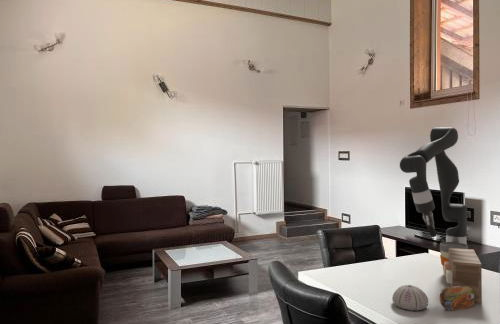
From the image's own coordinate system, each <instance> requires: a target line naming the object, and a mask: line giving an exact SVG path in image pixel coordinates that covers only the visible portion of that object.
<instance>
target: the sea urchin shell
mask: <svg viewBox="0 0 500 324" xmlns="http://www.w3.org/2000/svg"><path fill="white" fill-rule="evenodd" d="M391 299H392V303H393V304H394V305H395V306H397V307H399V308H401V309H404V310H408V311H416V312H417V311H422V310H424V309H426V308H427V307H428V304H429V301H430V300H429V297H428V295H427V294H426V293H425V292H424V291H423V290H422V289H421V288H419V287H417V286H415V285H413V284H405V285H401V286H399V287H397V289H396V290H394V292H393V294H392V296H391Z"/></svg>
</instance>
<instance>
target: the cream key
mask: <svg viewBox="0 0 500 324" xmlns="http://www.w3.org/2000/svg"><path fill="white" fill-rule="evenodd" d="M445 277H446V278H445V279H446V283H447V284H449V283H452V270H446V276H445Z"/></svg>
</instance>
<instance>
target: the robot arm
mask: <svg viewBox="0 0 500 324" xmlns="http://www.w3.org/2000/svg"><path fill="white" fill-rule="evenodd" d="M429 134H430V135H429V139H430V142H427V143H425V144H423V145H421V146H420V147H419V148H418V149H416V150H415V151H414V152H411V153H409V154H407V155H404V157H402V158H401V159H400V161H399V168H400V170H401V171H402V172H403V173H406V174H411V173H416V175H415V176H413V177H411V178H410V179H409V181H408V183H409V186H410V190H411V195H412V199H413V203H414V206H415V209H416V212H417V213H421V214H422V220H423V221H424V224H425V227H426V229H427V230H428V231H429V234H430V237H431V238H436V237H437V232H436V229H435V220H434V213H433V211H434V210H435V208H436V205H435V203H434V199H433V196H432V192H431V190H430V187H429V183H428V181H427V164H428V163H429V162H430V161H431V160H432V159H433V158H434V161H435V165H436V166H435V167H436V173H437V180H438V186H439V191H440V198H441V213H442V217H443V220H444V221H445V222H451V223H457V225H456V226H454V227H449V228H447V229H446V230H445V235H446V236H445V242H458V243H463V244H466V245H468V244H467V229H468V227H467V226H468V225H467V223H468V208H467V206H466V204H462V203H451V201H450V199H451V198H452V197H451V196H452V195H453V193H454V192H455V190H456V189H457V187H458V186H459V183H460V176H459V171H458V168H457V166H456V165H455V163H454V162H453V160H452V159H450V157H449V156H448V154H447V153H446V152H445V151H446V150H448V149H449V148H452V147H453V146H455V145H456V144H457V142H458V139H459V132H458V130H457V129H456V128H455V127H451V126H450V127H449V126H448V127H446V126H445V127H444V126H443V127H441V126H437V127H433V128H432V129H431V130H430V133H429Z"/></svg>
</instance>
